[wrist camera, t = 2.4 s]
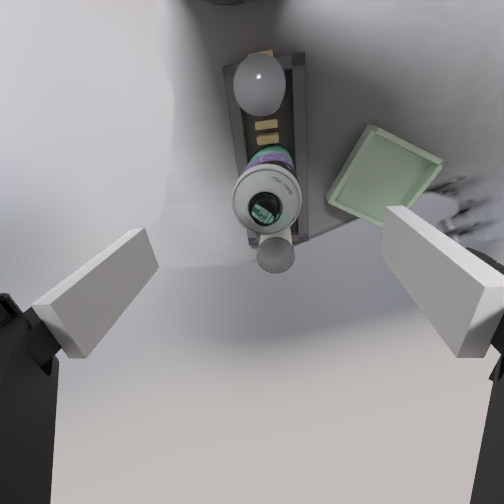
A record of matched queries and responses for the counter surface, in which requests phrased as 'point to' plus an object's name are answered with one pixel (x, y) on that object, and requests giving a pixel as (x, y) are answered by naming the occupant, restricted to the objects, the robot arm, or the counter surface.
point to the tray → (382, 175)
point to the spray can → (267, 192)
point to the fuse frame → (299, 116)
